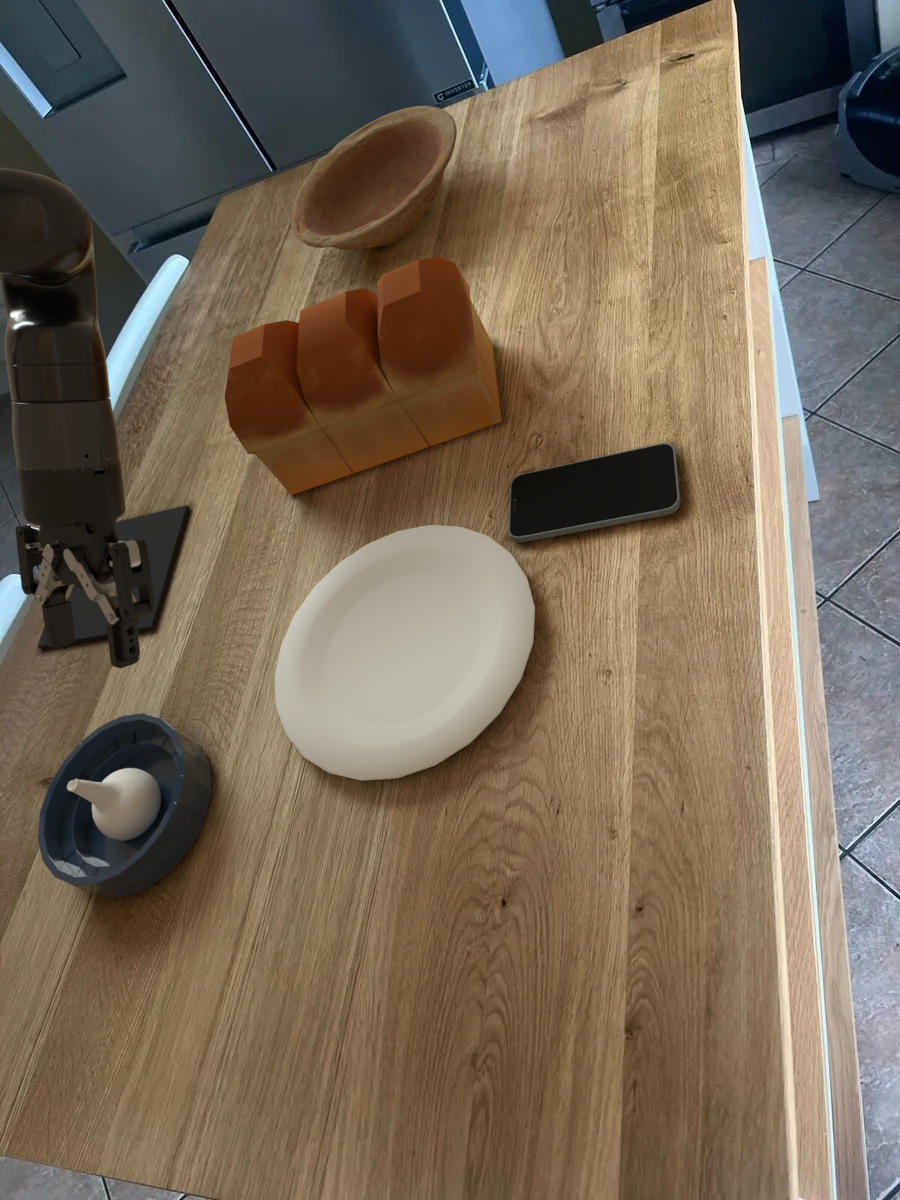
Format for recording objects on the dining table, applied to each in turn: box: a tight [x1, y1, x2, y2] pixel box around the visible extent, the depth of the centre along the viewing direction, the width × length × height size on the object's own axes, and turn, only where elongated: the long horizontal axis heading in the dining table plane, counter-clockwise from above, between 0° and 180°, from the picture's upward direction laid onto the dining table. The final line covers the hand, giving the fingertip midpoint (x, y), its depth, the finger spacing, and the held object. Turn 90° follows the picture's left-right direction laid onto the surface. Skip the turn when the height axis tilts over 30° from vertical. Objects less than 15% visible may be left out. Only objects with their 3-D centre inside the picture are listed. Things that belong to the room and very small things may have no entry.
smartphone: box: [508, 442, 681, 543], centre depth 79 cm, size 7×1×15 cm
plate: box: [274, 524, 537, 782], centre depth 79 cm, size 25×25×2 cm
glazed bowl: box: [37, 712, 212, 898], centre depth 80 cm, size 15×15×4 cm
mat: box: [37, 505, 190, 650], centre depth 101 cm, size 16×16×1 cm
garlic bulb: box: [67, 768, 161, 841], centre depth 78 cm, size 6×6×8 cm
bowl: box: [290, 105, 458, 251], centre depth 114 cm, size 24×24×8 cm
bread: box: [224, 256, 503, 496], centre depth 91 cm, size 25×12×15 cm, turn 93°
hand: (93, 655), depth 75 cm, fingers open, 8 cm apart
